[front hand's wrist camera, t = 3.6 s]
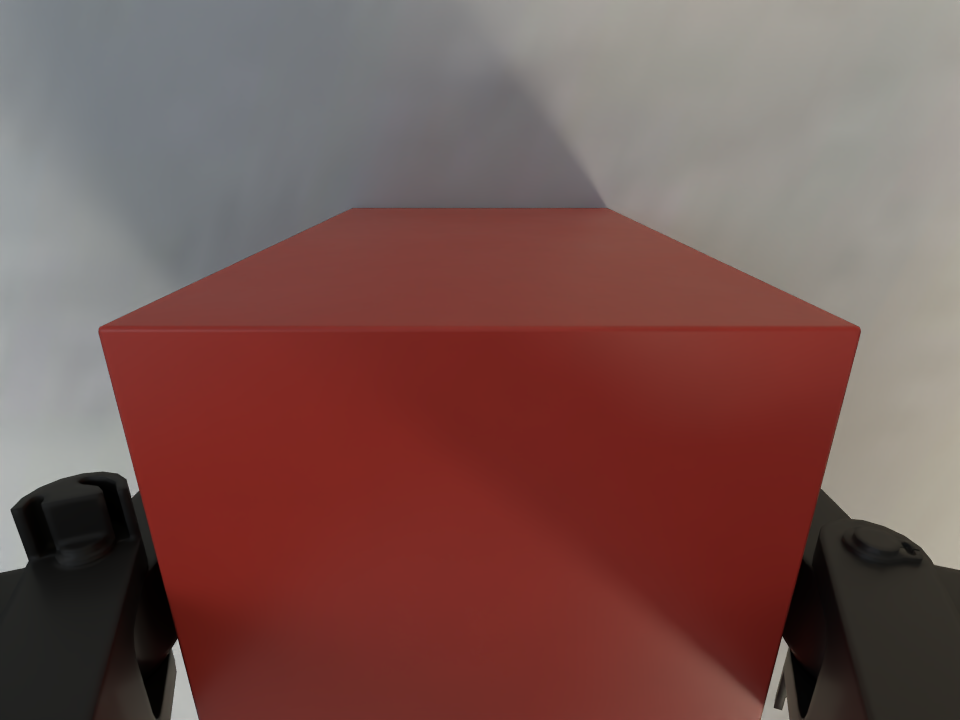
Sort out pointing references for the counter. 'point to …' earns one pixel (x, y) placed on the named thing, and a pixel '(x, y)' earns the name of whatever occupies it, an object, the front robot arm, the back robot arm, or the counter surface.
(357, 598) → the block
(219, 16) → the counter surface
